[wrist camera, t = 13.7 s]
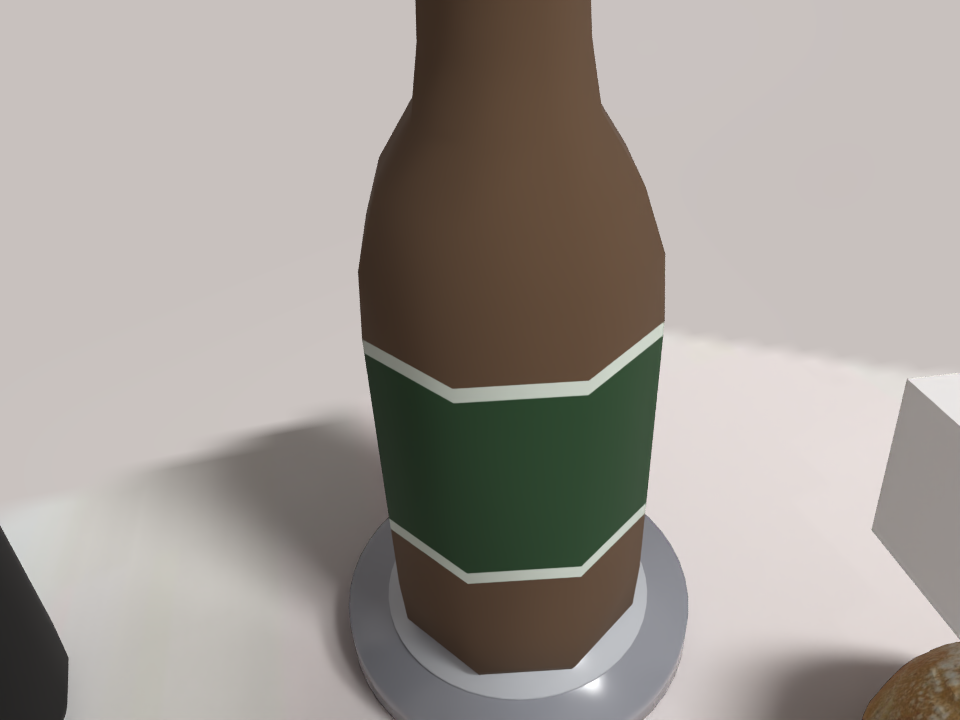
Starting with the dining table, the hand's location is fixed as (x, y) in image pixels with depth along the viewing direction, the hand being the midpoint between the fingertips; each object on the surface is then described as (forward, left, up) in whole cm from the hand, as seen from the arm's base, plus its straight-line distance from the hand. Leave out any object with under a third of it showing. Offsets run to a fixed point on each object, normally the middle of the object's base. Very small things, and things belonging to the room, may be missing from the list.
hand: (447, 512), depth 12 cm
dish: (+5, +9, -15) cm, 18 cm away
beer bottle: (+5, +9, -14) cm, 17 cm away
